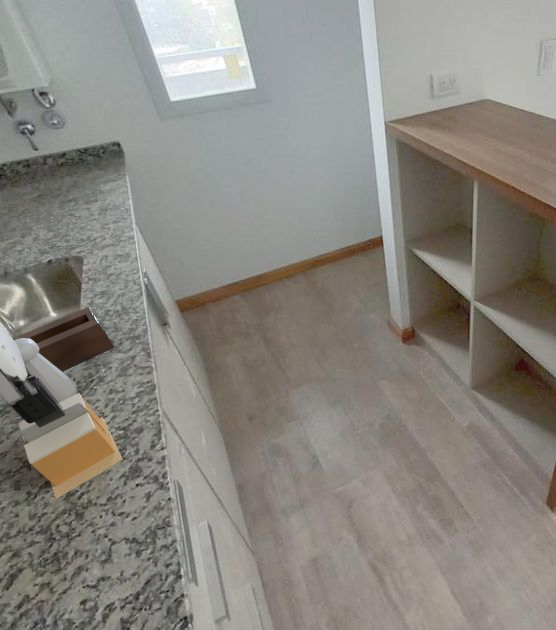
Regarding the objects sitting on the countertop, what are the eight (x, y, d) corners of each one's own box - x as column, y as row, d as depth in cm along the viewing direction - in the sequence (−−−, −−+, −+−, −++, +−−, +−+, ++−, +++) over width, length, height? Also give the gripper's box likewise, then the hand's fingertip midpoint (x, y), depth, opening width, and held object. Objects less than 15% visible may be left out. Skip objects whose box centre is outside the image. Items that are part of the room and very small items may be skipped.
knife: (53, 470, 62) (-8, 408, 53) (50, 460, 63) (-10, 398, 54) (108, 440, 66) (60, 377, 57) (103, 432, 67) (56, 369, 58)
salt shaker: (58, 420, 70) (5, 362, 62) (35, 411, 72) (-19, 353, 64) (91, 393, 75) (45, 336, 66) (68, 385, 76) (22, 328, 68)
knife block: (45, 379, 78) (24, 355, 74) (38, 359, 82) (18, 335, 79) (114, 347, 84) (98, 323, 80) (104, 330, 88) (88, 306, 84)
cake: (58, 502, 59) (27, 474, 55) (43, 453, 66) (14, 424, 61) (125, 462, 63) (101, 433, 59) (105, 419, 70) (81, 391, 66)
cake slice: (55, 486, 60) (28, 462, 56) (50, 469, 62) (23, 445, 58) (115, 451, 64) (94, 426, 60) (108, 436, 66) (87, 412, 62)
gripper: (-111, 284, 49) (-2, 394, 60) (-114, 350, 40) (16, 465, 51) (-27, 257, 53) (60, 365, 64) (-12, 311, 43) (87, 427, 55)
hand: (40, 409), depth 58 cm, fingers closed on knife, 2 cm apart
